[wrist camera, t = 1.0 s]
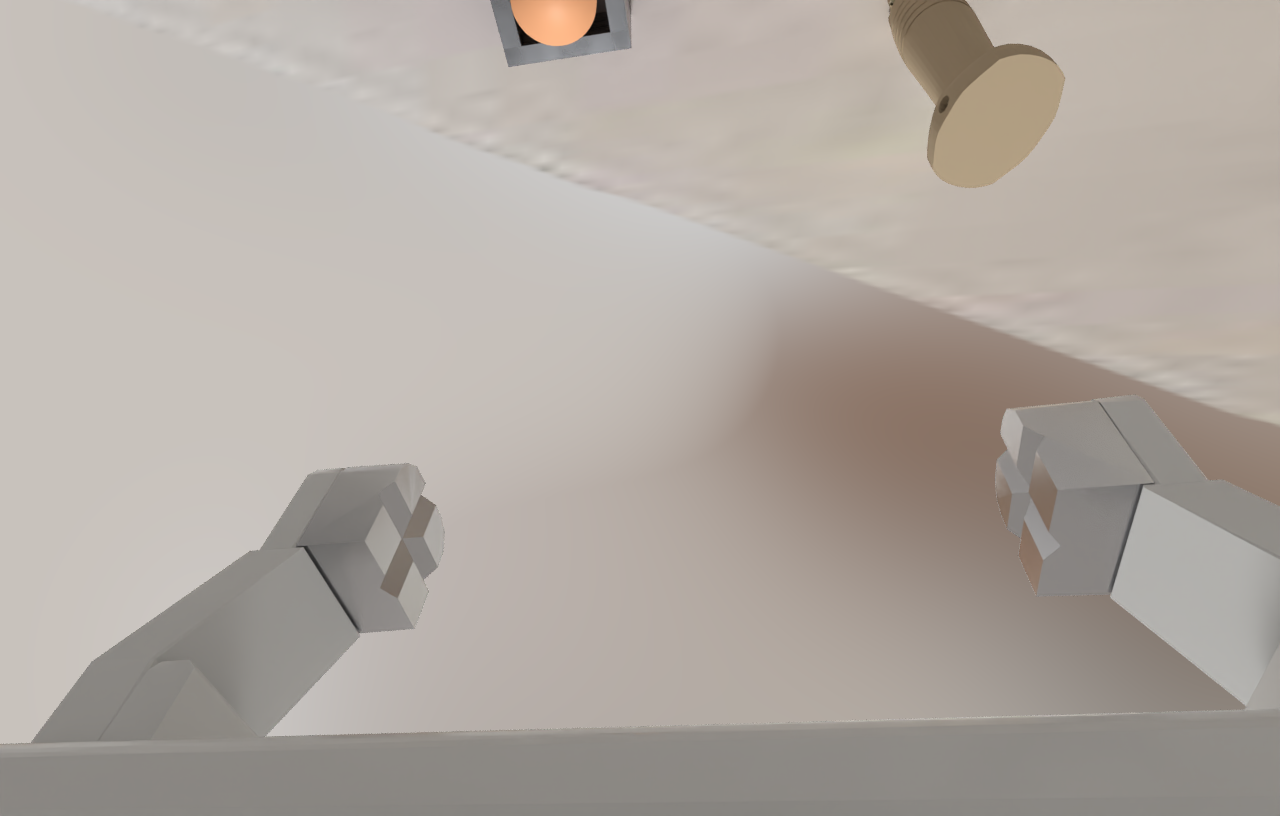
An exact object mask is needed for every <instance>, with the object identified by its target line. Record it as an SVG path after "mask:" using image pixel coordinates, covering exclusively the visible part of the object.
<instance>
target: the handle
mask: <svg viewBox="0 0 1280 816" xmlns="http://www.w3.org/2000/svg"><path fill="white" fill-rule="evenodd" d="M888 4H889V6H890V15H889V24H890V27H891V30H892V34H893V38H894V41H895V43H896V46H897V48H898V51H899V53H900V55H901V57H902V59H903V61H904V62H905V64H906V66H907V67H908V69H909V70H910V72H911V73H912V74H913V75H914V77H915V78H916V79H917V81H918V82H919V83H920V85H921V86H922V87H923V89H924V90H925V91H926V93H927V94H928V95H929V97H930V98H931V100H932V101H933V102H934V104H935V105H936V107H935V110H934V113H933V117H932V121H931V125H930V130H929V137H928V148H927V158H928V161H929V163H930V165H931V167H932V169H933V170H934V172H935V173H936V175H937V176H938V177H939V178H940V179H941V180H943V181H945V182H947V183H949V184H952V185H955V186H959V187H965V188H977V187H982V186H987V185H990V184H993V183H994V182H996V181H997V180H998V179H1000V178H1001V177H1002V176H1004V175H1005V174H1006V173H1008V172H1009V171H1010V170H1012V169H1013V168H1014V167H1016V166H1017V165H1018V164H1019V163H1020V162H1022V161H1023V160H1024V159H1025V158H1026V157H1027V156H1028V155H1029V154H1030V152H1031V151H1032V150H1033V149H1034V148H1035V146H1036V145H1037V143H1038V142H1039V141H1040V139H1041V138H1042V136H1043V135H1044V134H1045V132H1046V131H1047V129H1048V128H1049V126H1050V124H1051V123H1052V121H1053V119H1054V118H1055V115H1056V112H1057V110H1058V107H1059V103H1060V99H1061V95H1062V90H1063V86H1064V81H1065V77H1064V74H1063V72H1062V71H1061V69H1060V68H1059V67H1058V65H1057V64H1056V63H1055V62H1054V61H1053V60H1052V58H1051V57H1050V56H1048V55H1047V54H1045V53H1044V52H1043V51H1041V50H1039V49H1037V48H1034V47H1032V46H1028V45H1023V44H1006V45H1001V46H998V47H995V48H994V46H993V45H992V43H991V41H990V39H989V38H988V36H987V34H986V32H985V30H984V29H983V27H982V25H981V23H980V21H979V20H978V18H977V16H976V14H975V13H974V11H973V10H972V8H971V7H970V6H969V4H968V3H967V2H966V1H965V0H888Z"/></svg>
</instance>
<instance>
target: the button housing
mask: <svg viewBox="0 0 1280 816" xmlns="http://www.w3.org/2000/svg"><path fill="white" fill-rule="evenodd" d="M490 1H491V4H492V8H493V12H494V15H495V19H496V23H497V26H498V30H499V33H500V37H501V41H502V44H503V48H504V52H505V55H506V59H507V63H508V66H509V67H512V66H518V65H525V64H531V63H538V62H544V61H551V60H557V59H564V58H570V57H577V56H583V55H590V54H596V53H603V52H609V51H616V50H622V49H629V48H631V12H630V6H629V0H597V7H596V14H595V18H594V20H593V23H592V25H591V27H590V28H589V30H588V31H587V32H586V33H585V34H584V35H583V36H582V37H581V38H580V39H578V40H577V41H575V42H573V43H571V44H568V45H563V46H551V45H546V44H543V43H540V42H538V41H536V40H534V39H533V38H531V37H530V36H529V35H527V34H526V33H525V32H524V31H523V29H522V28H521V27H520V26H519V24H518V22H517V21H516V19H515V17H514V14H513V11H512V8H511V2H510V0H490Z"/></svg>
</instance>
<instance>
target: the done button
mask: <svg viewBox="0 0 1280 816" xmlns="http://www.w3.org/2000/svg"><path fill="white" fill-rule="evenodd" d="M510 2H511V8H512V11H513V14H514V17H515V19H516V21H517V22H518V24H519V26H520V27H521V28H522V29H523V31H524V32H525V33H526V34H527V35H529V36H530V37H531V38H533V39H534V40H536V41H538V42H540V43H543V44H546V45H551V46H563V45H568V44H571V43H573V42H575V41H577V40H578V39H580V38H581V37H582V36H583V35H584V34H585V33H586V32H587V31H588V30H589V28H590V27H591V25H592V23H593V20H594V18H595V14H596V7H597V0H510Z"/></svg>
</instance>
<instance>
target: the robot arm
mask: <svg viewBox="0 0 1280 816" xmlns="http://www.w3.org/2000/svg"><path fill="white" fill-rule="evenodd" d="M1000 434H1001V436H1002V438H1003V440H1004V442H1005V444H1006V446H1007V448H1008V449H1007V450H1006V451H1005V452H1004V453H1003V454H1002V455H1001V456H1000V457H999V458H998V459H997V465H996V475H995V484H996V495H997V502H998V505H999V509H1000V512H1001V516H1002V518H1003V521H1004V523H1005V526H1006V528H1007V529H1008V530H1009V531H1010V532H1012V533H1013V534H1015V535H1016V536H1018V537H1019V538H1021V541H1020V548H1019V554H1018V556H1019V558H1020V561H1021V563H1022V565H1023V568H1024V570H1025V572H1026V574H1027V576H1028V579H1029V581H1030V583H1031V586H1032V588H1033V590H1034V592H1035V594H1036V596H1067V595H1102V594H1111V597H1110V598H1111V599H1113V600H1114V601H1115V602H1116V603H1118V604H1119V605H1120V606H1121V607H1123V608H1124V609H1125V610H1127V611H1128V612H1129V613H1130V614H1132V615H1133V616H1134V617H1135V618H1137V619H1138V620H1139V621H1140V622H1142V623H1143V624H1144V625H1145V626H1147V627H1148V628H1149V629H1151V630H1152V631H1153V632H1154V633H1155V634H1157V635H1158V636H1159V637H1160V638H1162V639H1163V640H1164V641H1165V642H1167V643H1168V644H1169V645H1170V646H1172V647H1173V648H1174V649H1176V650H1177V651H1178V652H1179V653H1180V654H1182V655H1183V656H1184V657H1185V658H1187V659H1188V660H1189V661H1190V662H1192V663H1193V664H1194V665H1195V666H1197V667H1198V668H1199V669H1200V670H1202V671H1203V672H1204V673H1205V674H1207V675H1208V676H1209V677H1210V678H1212V679H1213V680H1214V681H1216V682H1217V683H1218V684H1219V685H1220V686H1222V687H1223V688H1224V689H1226V690H1227V691H1228V692H1229V693H1231V694H1232V695H1233V696H1234V697H1236V698H1237V699H1238V700H1239V701H1241V702H1242V703H1243V704H1244V705H1246V708H1245V710H1222V711H1185V712H1147V713H1109V714H1075V715H1074V714H1073V715H1035V716H999V717H963V718H929V719H895V720H894V719H892V720H860V721H859V720H857V721H823V722H822V721H821V722H786V723H750V724H713V725H678V726H676V725H675V726H640V727H639V726H638V727H604V728H603V727H601V728H563V729H530V730H529V729H528V730H527V729H526V730H490V731H455V732H454V731H453V732H417V733H381V734H348V735H346V734H344V735H312V736H311V735H309V736H274V737H273V736H272V737H265V736H266V735H267V734H268V733H269V732H270V731H271V730H272V729H273V728H274V727H275V726H276V725H277V723H278V722H279V721H280V720H281V719H282V718H283V717H284V716H285V715H286V714H287V713H288V712H289V711H290V710H291V709H292V708H293V707H294V706H295V705H296V703H297V702H298V701H299V700H300V699H301V698H302V697H303V696H304V695H305V694H306V693H307V692H308V691H309V690H310V689H311V688H312V686H314V684H315V683H316V682H317V681H318V680H319V679H320V678H321V677H322V676H323V675H324V674H325V673H326V672H327V671H328V670H329V669H330V668H331V667H332V665H333V664H334V663H335V662H336V661H337V660H338V659H339V658H340V657H341V656H342V655H343V654H344V653H345V652H346V650H348V649H349V647H350V646H351V645H352V644H353V643H354V642H355V641H356V640H357V639H358V638H359V637H360V634H359V633H368V632H380V631H392V630H405V629H414V628H415V626H416V624H417V621H418V618H419V616H420V613H421V611H422V608H423V605H424V603H425V600H426V597H427V595H428V592H429V591H428V588H427V587H426V584H425V582H424V579H425V578H426V577H427V576H428V575H429V574H431V572H433V571H434V570H435V569H436V568H437V567H438V565H439V562H440V559H441V557H442V554H443V549H444V527H443V523H442V518H441V515H440V513H439V511H438V509H437V507H436V505H435V504H433V503H432V502H430V501H429V500H428V499H426V498H425V497H423V496H422V495H421V494H422V491H423V489H424V486H425V484H426V483H425V481H424V479H423V477H422V475H421V473H420V472H419V470H418V468H417V466H414V465H411V464H409V463H406V464H390V465H375V466H360V467H348V468H338V469H326V470H325V469H324V470H316V471H315V472H313V473H311V474H309V475H308V476H307V477H306V479H305V480H304V482H303V483H302V485H301V487H300V488H299V490H298V491H297V493H296V494H295V496H294V497H293V499H292V501H291V502H290V504H289V505H288V507H287V508H286V510H285V511H284V513H283V515H282V516H281V518H280V519H279V521H278V522H277V524H276V526H275V527H274V529H273V530H272V532H271V534H270V535H269V537H268V538H267V539H266V541H265V543H264V544H263V546H262V547H261V549H260V550H256V551H249V552H248V553H246V554H245V555H244V556H242V557H241V558H239V559H238V560H236V561H235V562H234V563H232V564H231V565H229V566H228V567H226V568H225V569H224V570H222V571H221V572H219V573H218V574H216V575H215V576H214V577H212V578H211V579H209V580H208V581H207V582H205V583H204V584H202V585H201V586H199V587H198V588H196V589H195V590H194V591H192V592H191V593H189V594H188V595H186V596H185V597H184V598H182V599H181V600H179V601H178V602H176V603H175V604H174V605H172V606H171V607H169V608H168V609H166V610H165V611H164V612H162V613H161V614H159V615H158V616H156V617H155V618H154V619H152V620H151V621H149V622H148V623H146V624H145V625H144V626H142V627H141V628H139V629H138V630H136V631H135V632H134V633H132V634H131V635H129V636H128V637H126V638H125V639H124V640H122V641H121V642H119V643H118V644H117V645H115V646H114V647H112V648H111V649H109V650H108V651H107V652H105V653H104V654H102V655H101V656H99V657H98V658H96V659H95V660H94V661H92V662H91V664H90V665H89V666H88V667H87V669H86V670H85V672H84V673H83V674H82V675H81V677H80V678H79V679H78V681H77V682H76V683H75V685H74V686H73V687H72V689H71V690H70V691H69V693H68V694H67V695H66V697H65V698H64V699H63V701H62V702H61V703H60V705H59V706H58V708H57V709H56V710H55V711H54V712H53V714H52V715H51V717H50V718H49V719H48V721H47V722H46V723H45V725H44V726H43V727H42V729H41V730H40V731H39V732H38V734H37V735H36V736H35V738H34V739H33V740H32V742H31V743H18V744H0V816H1280V506H1277V505H1275V504H1273V503H1271V502H1269V501H1267V500H1265V499H1263V498H1261V497H1258V496H1256V495H1254V494H1252V493H1250V492H1248V491H1246V490H1244V489H1241V488H1239V487H1237V486H1235V485H1233V484H1231V483H1229V482H1227V481H1224V480H1212V481H1211V480H1210V481H1209V480H1208V479H1207V478H1206V477H1205V475H1204V474H1203V473H1202V472H1201V470H1200V469H1199V468H1198V466H1197V465H1196V464H1195V463H1194V461H1193V460H1192V459H1191V458H1190V456H1189V455H1188V454H1187V453H1186V451H1185V450H1184V449H1183V447H1182V446H1181V445H1180V444H1179V443H1178V441H1177V440H1176V439H1175V437H1174V436H1173V435H1172V434H1171V432H1170V431H1169V430H1168V429H1167V427H1166V426H1165V425H1164V424H1163V422H1162V421H1161V420H1160V419H1159V417H1158V416H1157V415H1156V413H1155V412H1154V411H1153V410H1152V408H1151V407H1150V406H1149V405H1148V403H1147V402H1146V401H1145V400H1144V399H1143V398H1141V397H1139V396H1137V395H1128V396H1119V397H1110V398H1101V399H1093V400H1091V401H1083V402H1073V403H1062V404H1052V405H1042V406H1032V407H1021V408H1011V409H1007V410H1006V412H1005V414H1004V417H1003V420H1002V427H1001V433H1000Z"/></svg>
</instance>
